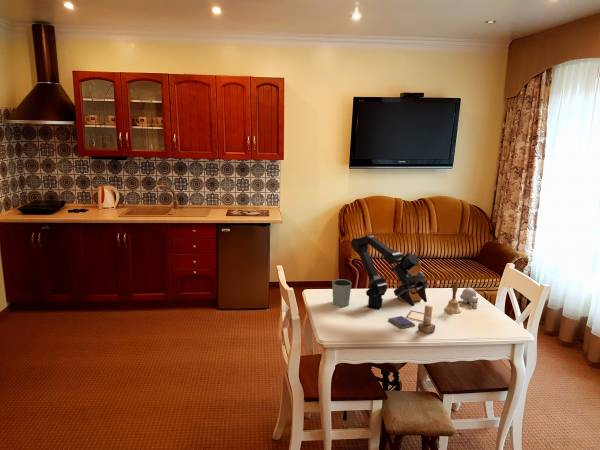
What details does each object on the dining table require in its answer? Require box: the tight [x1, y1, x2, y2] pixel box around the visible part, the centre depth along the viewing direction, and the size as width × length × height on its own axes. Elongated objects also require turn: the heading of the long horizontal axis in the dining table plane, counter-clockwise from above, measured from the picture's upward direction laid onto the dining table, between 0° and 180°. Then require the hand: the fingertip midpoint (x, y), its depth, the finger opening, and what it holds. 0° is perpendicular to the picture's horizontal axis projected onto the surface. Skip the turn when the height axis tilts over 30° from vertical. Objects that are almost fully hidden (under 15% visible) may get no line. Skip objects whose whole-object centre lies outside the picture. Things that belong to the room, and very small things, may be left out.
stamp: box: [417, 304, 436, 335], centre depth 206 cm, size 5×5×12 cm
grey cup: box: [331, 278, 352, 308], centre depth 234 cm, size 10×10×12 cm
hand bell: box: [443, 281, 462, 315], centre depth 230 cm, size 8×8×16 cm
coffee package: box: [396, 260, 422, 302], centre depth 243 cm, size 10×12×22 cm
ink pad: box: [387, 315, 416, 329], centre depth 214 cm, size 10×8×1 cm
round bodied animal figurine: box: [459, 287, 479, 308], centre depth 241 cm, size 7×12×8 cm, turn 9°
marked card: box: [403, 309, 434, 323], centre depth 223 cm, size 12×12×1 cm
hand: (419, 303), depth 208 cm, fingers open, 9 cm apart
